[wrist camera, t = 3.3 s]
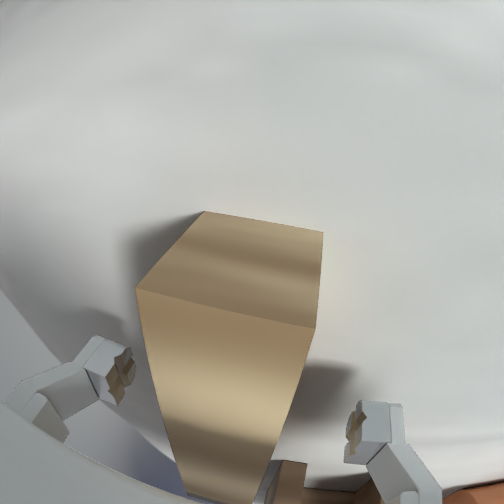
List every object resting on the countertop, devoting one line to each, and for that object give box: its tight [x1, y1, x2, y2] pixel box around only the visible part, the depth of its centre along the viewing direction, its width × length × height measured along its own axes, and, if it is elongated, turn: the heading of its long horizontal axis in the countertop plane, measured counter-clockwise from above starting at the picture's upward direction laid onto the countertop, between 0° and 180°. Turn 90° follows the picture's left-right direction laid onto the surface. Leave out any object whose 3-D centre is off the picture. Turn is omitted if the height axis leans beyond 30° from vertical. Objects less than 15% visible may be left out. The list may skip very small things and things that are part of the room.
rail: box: [135, 211, 323, 504], centre depth 11 cm, size 15×4×4 cm, turn 175°
